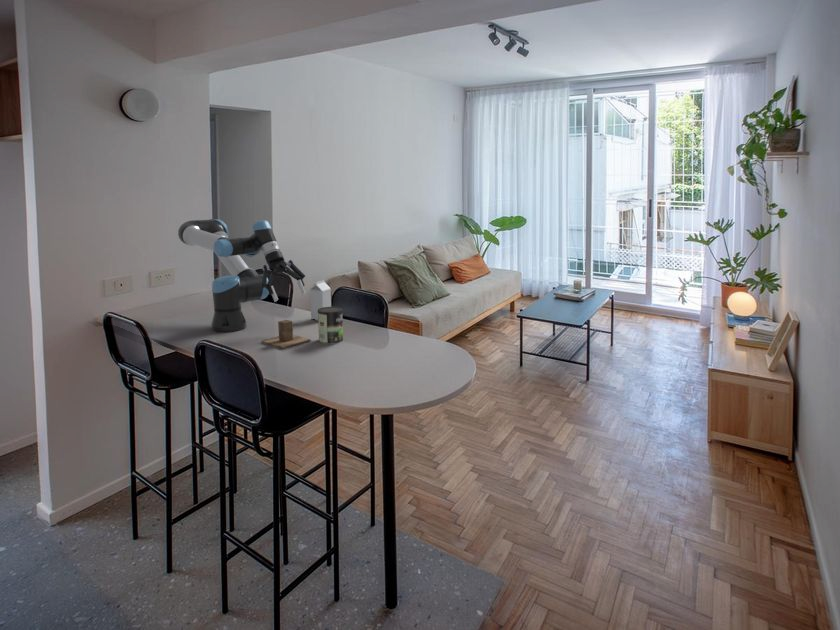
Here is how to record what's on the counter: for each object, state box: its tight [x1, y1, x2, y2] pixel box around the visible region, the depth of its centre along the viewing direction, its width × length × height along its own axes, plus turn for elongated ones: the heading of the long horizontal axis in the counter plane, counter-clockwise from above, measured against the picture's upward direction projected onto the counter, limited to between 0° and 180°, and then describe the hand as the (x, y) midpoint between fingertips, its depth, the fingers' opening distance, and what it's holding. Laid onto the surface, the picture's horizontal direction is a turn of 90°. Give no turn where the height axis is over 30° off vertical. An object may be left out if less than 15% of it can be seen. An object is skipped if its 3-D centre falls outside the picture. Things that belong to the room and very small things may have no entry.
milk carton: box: [309, 279, 332, 321], centre depth 265 cm, size 7×7×19 cm
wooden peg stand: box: [261, 319, 311, 349], centre depth 226 cm, size 14×14×9 cm
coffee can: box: [317, 306, 344, 345], centre depth 229 cm, size 10×10×14 cm
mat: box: [257, 339, 316, 352], centre depth 227 cm, size 17×17×1 cm
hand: (290, 297), depth 239 cm, fingers open, 13 cm apart
